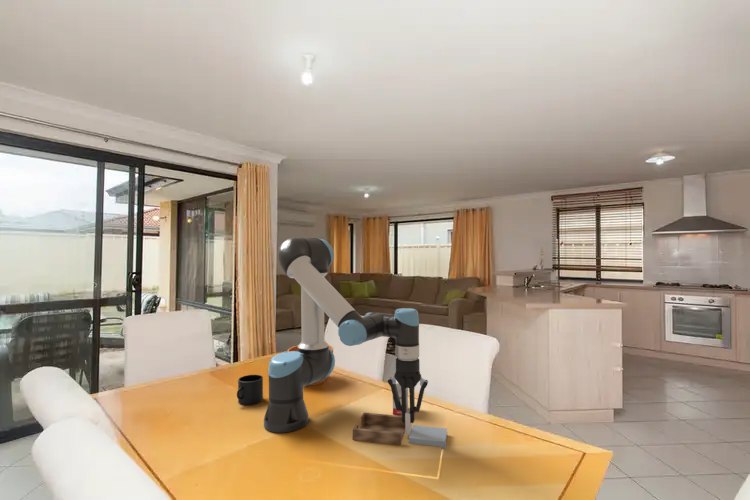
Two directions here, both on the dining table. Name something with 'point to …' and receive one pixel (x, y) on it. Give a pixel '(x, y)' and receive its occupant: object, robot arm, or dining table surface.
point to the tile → (428, 436)
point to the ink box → (395, 411)
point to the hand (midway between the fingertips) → (408, 432)
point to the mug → (250, 389)
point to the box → (380, 429)
